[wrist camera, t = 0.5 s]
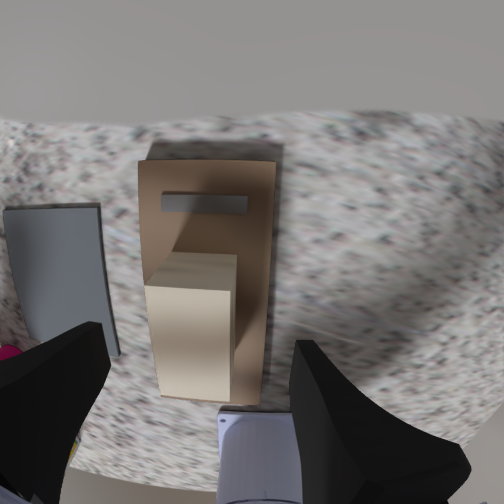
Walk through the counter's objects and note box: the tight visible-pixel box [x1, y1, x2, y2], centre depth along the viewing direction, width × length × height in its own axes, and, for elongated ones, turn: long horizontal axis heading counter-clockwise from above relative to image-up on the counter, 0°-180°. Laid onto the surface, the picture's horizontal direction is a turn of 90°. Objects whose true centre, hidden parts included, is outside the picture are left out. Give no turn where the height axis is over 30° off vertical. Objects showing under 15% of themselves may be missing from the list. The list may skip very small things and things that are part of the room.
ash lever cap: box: [144, 252, 237, 402], centre depth 17 cm, size 7×4×5 cm, turn 178°
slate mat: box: [3, 207, 120, 357], centre depth 20 cm, size 12×10×1 cm
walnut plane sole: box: [138, 159, 276, 405], centre depth 20 cm, size 18×8×1 cm, turn 178°
